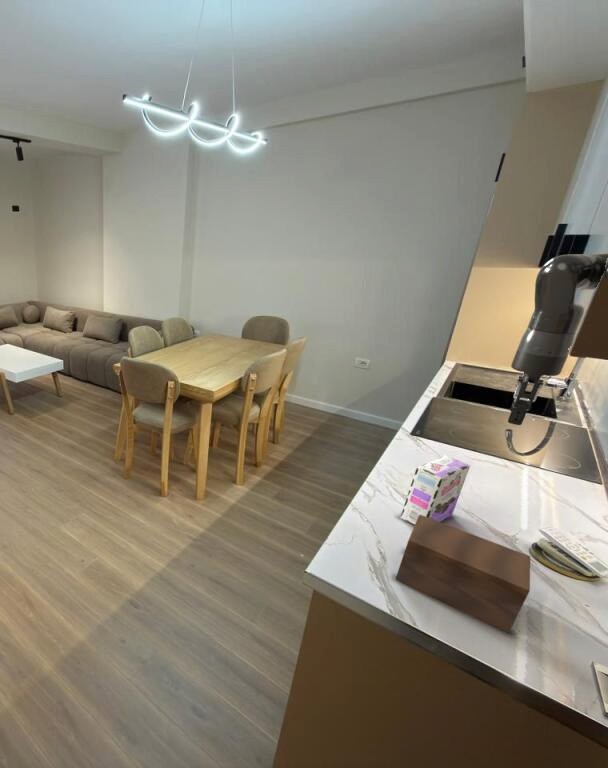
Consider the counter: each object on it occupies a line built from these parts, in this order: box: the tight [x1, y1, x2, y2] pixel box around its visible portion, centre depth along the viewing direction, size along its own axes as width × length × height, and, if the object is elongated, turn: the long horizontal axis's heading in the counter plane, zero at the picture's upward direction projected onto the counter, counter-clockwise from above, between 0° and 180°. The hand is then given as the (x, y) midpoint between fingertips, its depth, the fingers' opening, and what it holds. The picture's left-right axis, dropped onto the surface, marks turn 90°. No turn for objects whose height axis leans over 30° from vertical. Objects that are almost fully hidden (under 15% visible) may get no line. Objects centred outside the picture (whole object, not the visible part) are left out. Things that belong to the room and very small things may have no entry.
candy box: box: [400, 455, 471, 527], centre depth 104 cm, size 14×6×16 cm, turn 115°
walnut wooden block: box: [395, 514, 531, 635], centre depth 84 cm, size 18×12×11 cm, turn 44°
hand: (515, 418), depth 91 cm, fingers open, 8 cm apart
